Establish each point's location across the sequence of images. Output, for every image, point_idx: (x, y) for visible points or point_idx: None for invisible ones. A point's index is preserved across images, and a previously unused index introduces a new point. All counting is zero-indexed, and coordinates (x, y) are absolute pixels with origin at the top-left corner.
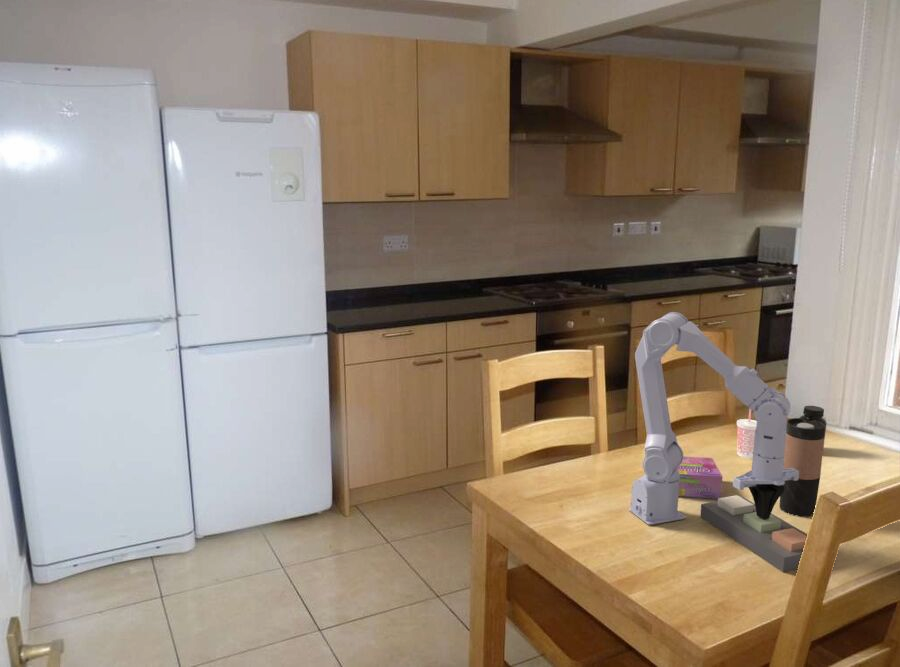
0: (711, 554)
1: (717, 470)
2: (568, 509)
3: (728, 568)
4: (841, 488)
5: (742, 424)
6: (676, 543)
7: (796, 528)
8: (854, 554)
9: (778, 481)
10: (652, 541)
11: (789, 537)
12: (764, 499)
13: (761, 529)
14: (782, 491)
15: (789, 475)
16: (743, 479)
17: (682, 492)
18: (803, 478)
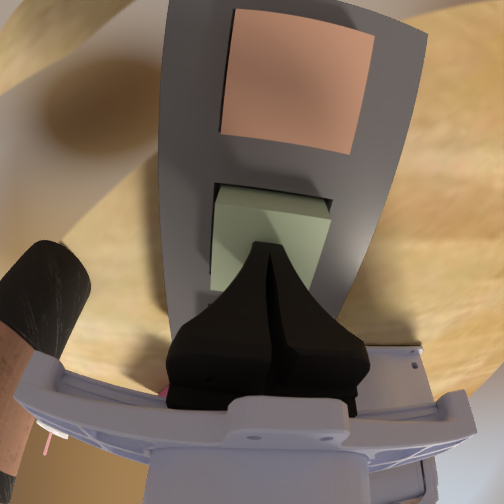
0: (459, 218)
1: None
2: (438, 391)
3: (489, 152)
4: None
5: (62, 434)
6: (457, 285)
7: (161, 161)
8: (73, 26)
9: (313, 440)
10: (472, 305)
11: (330, 75)
12: (332, 318)
13: (324, 209)
14: (202, 330)
15: (92, 423)
16: (434, 446)
17: None
18: (11, 332)
